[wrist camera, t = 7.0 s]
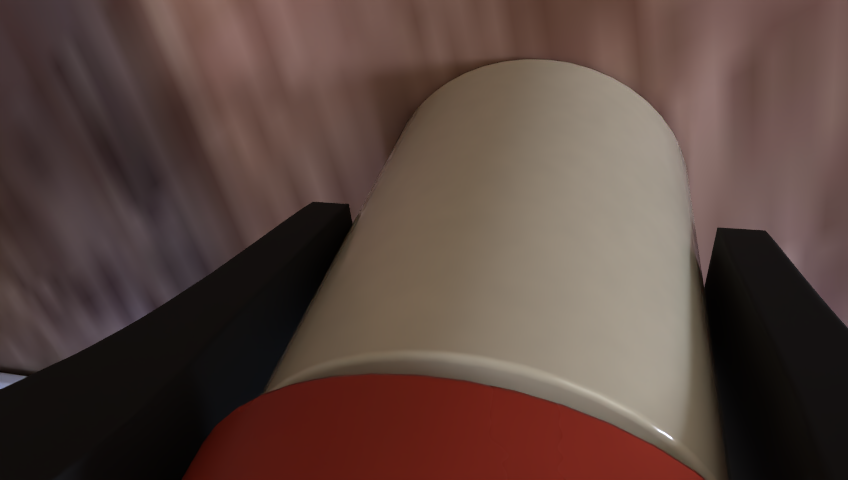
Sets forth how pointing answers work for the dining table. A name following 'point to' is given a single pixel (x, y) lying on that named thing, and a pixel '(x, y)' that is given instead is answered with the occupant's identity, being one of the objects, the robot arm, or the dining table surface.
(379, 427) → the jar lid
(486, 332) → the jam jar
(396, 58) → the dining table surface
